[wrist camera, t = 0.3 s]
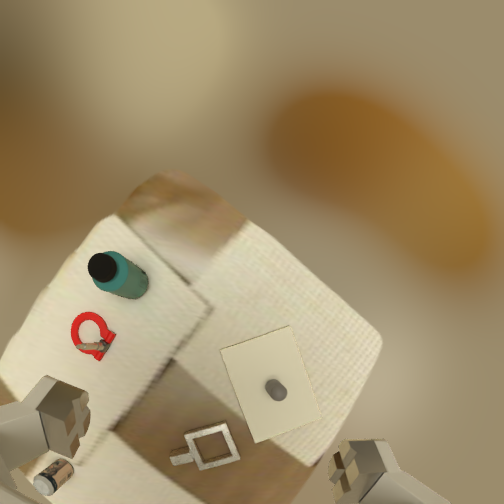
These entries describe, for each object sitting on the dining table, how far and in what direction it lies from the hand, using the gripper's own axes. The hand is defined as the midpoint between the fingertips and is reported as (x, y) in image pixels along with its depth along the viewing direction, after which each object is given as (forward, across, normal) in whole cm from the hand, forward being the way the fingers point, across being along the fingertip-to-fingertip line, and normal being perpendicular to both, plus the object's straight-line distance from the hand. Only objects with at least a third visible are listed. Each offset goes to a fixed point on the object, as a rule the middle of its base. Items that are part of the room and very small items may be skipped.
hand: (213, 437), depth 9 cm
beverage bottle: (+51, -17, -18) cm, 57 cm away
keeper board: (+44, +13, -30) cm, 54 cm away
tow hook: (+46, -24, -29) cm, 59 cm away
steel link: (+37, +2, -44) cm, 57 cm away
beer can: (+30, -27, -58) cm, 71 cm away
